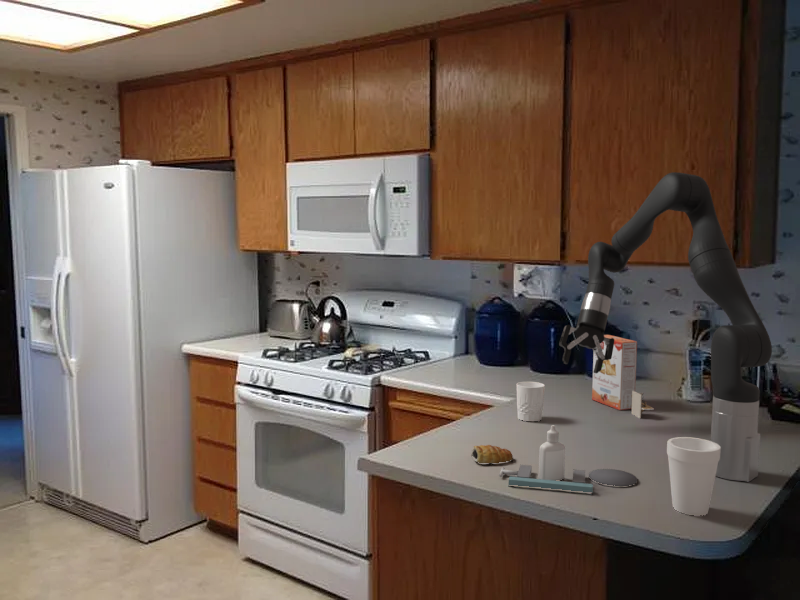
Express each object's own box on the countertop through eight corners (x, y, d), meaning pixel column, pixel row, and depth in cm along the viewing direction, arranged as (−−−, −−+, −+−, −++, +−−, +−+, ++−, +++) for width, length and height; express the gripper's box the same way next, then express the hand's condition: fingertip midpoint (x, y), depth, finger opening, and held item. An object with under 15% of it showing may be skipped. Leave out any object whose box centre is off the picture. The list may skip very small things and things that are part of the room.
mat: (645, 479, 157) (645, 476, 157) (623, 491, 150) (623, 488, 150) (603, 468, 164) (603, 465, 164) (579, 479, 157) (580, 476, 157)
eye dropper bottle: (566, 484, 154) (567, 428, 153) (539, 483, 154) (540, 427, 153) (563, 477, 158) (565, 423, 157) (537, 476, 159) (538, 422, 157)
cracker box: (590, 400, 229) (593, 334, 227) (606, 399, 232) (609, 334, 230) (618, 411, 216) (621, 341, 214) (635, 409, 219) (638, 340, 217)
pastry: (506, 455, 173) (507, 440, 173) (517, 465, 167) (517, 448, 166) (468, 458, 171) (469, 442, 171) (478, 467, 165) (478, 451, 164)
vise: (592, 477, 158) (592, 470, 158) (592, 494, 148) (592, 487, 148) (502, 469, 163) (502, 462, 163) (496, 485, 153) (496, 478, 152)
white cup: (511, 420, 205) (512, 385, 204) (520, 414, 211) (521, 380, 210) (539, 424, 201) (540, 388, 200) (547, 417, 208) (548, 383, 207)
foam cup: (715, 504, 143) (718, 440, 142) (719, 522, 134) (723, 453, 133) (663, 498, 146) (666, 435, 145) (664, 515, 137) (667, 448, 136)
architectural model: (642, 415, 214) (643, 390, 213) (653, 421, 207) (654, 395, 206) (631, 415, 213) (632, 390, 213) (641, 421, 207) (643, 395, 206)
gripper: (573, 302, 197) (559, 359, 194) (624, 317, 197) (610, 374, 194) (565, 307, 204) (552, 362, 201) (614, 322, 204) (601, 377, 201)
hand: (580, 368), depth 197 cm, fingers open, 8 cm apart
